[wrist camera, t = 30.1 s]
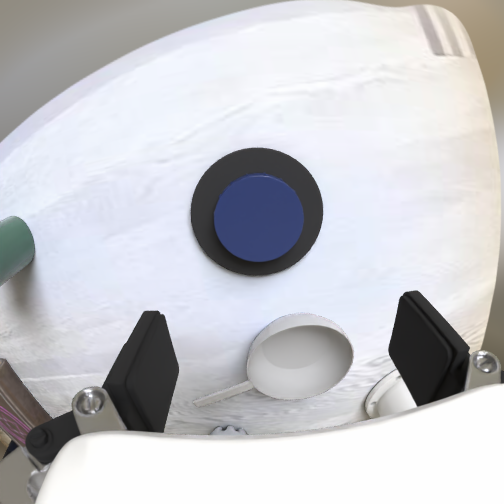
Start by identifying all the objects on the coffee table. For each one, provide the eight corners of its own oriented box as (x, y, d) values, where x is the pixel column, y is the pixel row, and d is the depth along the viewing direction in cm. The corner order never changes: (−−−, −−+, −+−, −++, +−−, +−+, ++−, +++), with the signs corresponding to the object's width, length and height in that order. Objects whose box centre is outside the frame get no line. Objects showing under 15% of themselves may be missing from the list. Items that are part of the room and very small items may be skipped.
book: (-38, 353, 33) (-49, 367, 28) (6, 358, 31) (-8, 376, 27) (34, 441, 44) (28, 455, 40) (93, 457, 43) (87, 474, 38)
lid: (220, 256, 25) (219, 265, 23) (211, 176, 22) (209, 179, 21) (300, 250, 25) (304, 258, 23) (298, 170, 22) (303, 173, 21)
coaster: (320, 145, 22) (322, 145, 21) (320, 267, 26) (322, 270, 26) (184, 154, 22) (183, 154, 21) (200, 276, 26) (200, 279, 26)
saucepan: (355, 354, 31) (364, 377, 27) (221, 405, 33) (220, 428, 30) (325, 285, 27) (336, 307, 23) (171, 352, 30) (164, 376, 26)
